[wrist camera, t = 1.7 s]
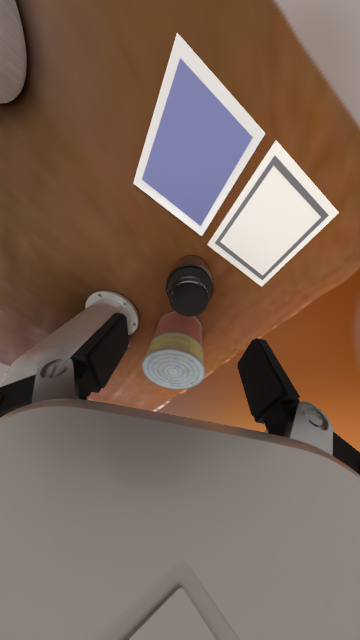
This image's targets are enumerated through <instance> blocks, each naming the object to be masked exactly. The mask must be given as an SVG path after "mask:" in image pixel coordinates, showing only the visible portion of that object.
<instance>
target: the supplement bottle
mask: <svg viewBox="0 0 360 640" xmlns="http://www.w3.org/2000/svg"><path fill="white" fill-rule="evenodd" d="M166 291H167V295H168V297H169V301H170V304H171V307H172V308H173V310H175V312H177V313H178V314H180V315H182V316H188V317H190V316H196V315H198V314H200V313H201V312H203V310H205V308H206V307H207V304H208V302H209V300H210V299H211V297H212V295H213V291H214V283H213V278H212V276H211V273H210V271H209V268H208V266H207V264H206V262H205V261H204V260H203V259H202V258H200V257H198V256H195V255H188V256H185V257H183V258H181V259H180V260H179V261H178V262H177V263H176V265H175V266H174V268H173V270H172V271H171V273H170V275H169V277H168V279H167V283H166Z"/></svg>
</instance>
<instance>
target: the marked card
mask: <svg viewBox="0 0 360 640" xmlns="http://www.w3.org/2000/svg"><path fill="white" fill-rule="evenodd" d="M338 213H339V212H338V211H337V210H336V209H335V207H334V206H333V205H332V204H331V203H330V202H329V201H328V199H327V198H326V197H325V196H324V195H323V194H322V192H321V191H320V190H319V189H318V188H317V187H316V186H315V184H314V183H313V182H312V181H311V180H310V179H309V177H308V176H307V175H306V174H305V173H304V172H303V171H302V169H301V168H300V167H299V166H298V165H297V164H296V162H295V161H294V160H293V159H292V158H291V157H290V156H289V154H288V153H287V152H286V151H285V150H284V149H283V147H282V146H281V145H280V144H279V143H278V142H277V140H276V141H275V142H274V143H273V145H272V146H271V148H270V149H269V151H268V152H267V154H266V156H265V157H264V159H263V160H262V162H261V163H260V165H259V166H258V168H257V169H256V171H255V172H254V174H253V175H252V177H251V178H250V180H249V181H248V183H247V184H246V186H245V188H244V189H243V191H242V192H241V194H240V195H239V197H238V198H237V200H236V201H235V203H234V204H233V206H232V207H231V209H230V210H229V212H228V213H227V215H226V217H225V218H224V220H223V221H222V223H221V224H220V226H219V227H218V229H217V230H216V232H215V233H214V235H213V236H212V238H211V239H210V241H209V242H208V244H207V245H208V246H209V247H210V248H212V249H213V250H214V251H216V252H217V253H218V254H220V255H221V256H222V257H224V258H225V259H226V260H227V261H229V262H230V263H231V264H233V265H234V266H235V267H237V268H238V269H239V270H240V271H242V272H243V273H244V274H246V275H247V276H248V277H250V278H251V279H252V280H254V281H255V282H256V283H257V284H259V285H260V286H261V287H262V286H263V285H264V284H265V283H266V282H267V281H268V280H269V279H270V278H271V277H272V276H273V275H274V274H275V273H276V272H277V271H279V270H280V269H281V268H282V267H283V266H284V265H285V264H286V263H287V262H288V261H289V260H290V259H291V258H292V257H293V256H294V255H295V254H296V253H297V252H298V251H299V250H301V249H302V248H303V247H304V246H305V245H306V244H307V243H308V242H309V241H310V240H311V239H312V238H313V237H314V236H315V235H316V234H317V233H318V232H319V231H320V230H321V229H323V228H324V227H325V226H326V225H327V224H328V223H329V222H330V221H331V220H332V219H333V218H334V217H335V216H336V215H337V214H338Z"/></svg>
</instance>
